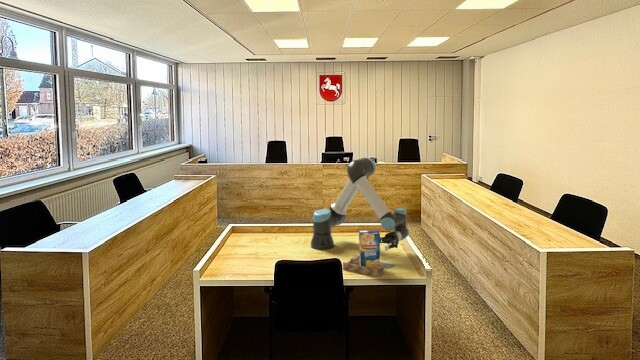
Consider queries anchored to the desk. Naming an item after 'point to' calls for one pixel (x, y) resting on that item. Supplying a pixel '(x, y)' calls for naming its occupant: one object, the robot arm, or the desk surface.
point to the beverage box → (369, 249)
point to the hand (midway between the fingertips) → (374, 246)
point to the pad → (386, 265)
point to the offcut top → (354, 259)
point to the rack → (362, 269)
